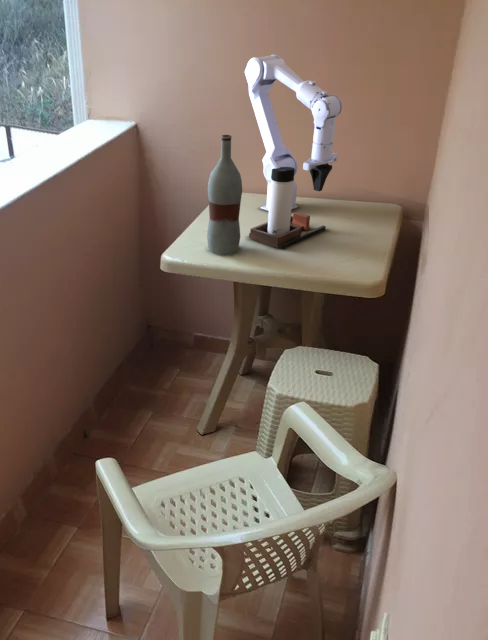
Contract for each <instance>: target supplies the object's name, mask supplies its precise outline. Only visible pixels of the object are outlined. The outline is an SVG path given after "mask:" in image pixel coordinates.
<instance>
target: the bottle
mask: <svg viewBox="0 0 488 640" xmlns="http://www.w3.org/2000/svg"><path fill="white" fill-rule="evenodd" d="M220 138H221V140H220V141H221V142H220V158H219V160H218V161H217V163H216V165H215V166H214V168H213V169H212V171H211V172H210V174H209V177H208V183H207V199H208V214H209V215H208V216H209V217H208V218H209V219H208V225H207V231H206V239H207V247H208V251H209V252H210V253H211V254H214V255H216V256H217V255H218V256H229V255H233V254H235V253H237V252H238V250H239V247H240V241H241V226H240V210H241V204H242V195H243V181H242V180H243V179H242V177H241V176H242V175H241V173H240V171H239V170H238V168H237V166H236V163H234V161H233V159H232V135H231V134H223V135H221V136H220Z"/></svg>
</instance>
